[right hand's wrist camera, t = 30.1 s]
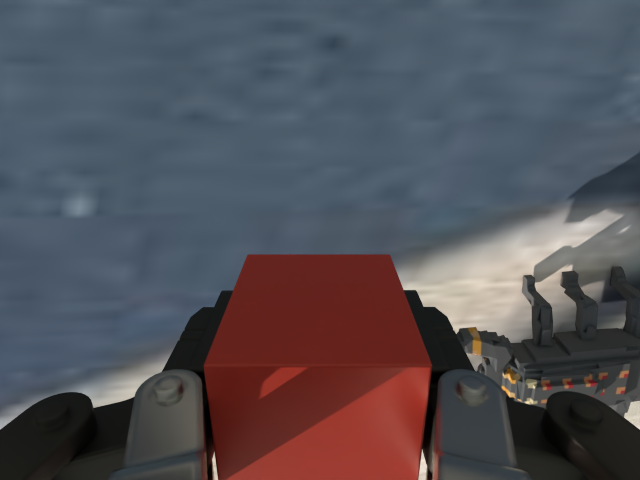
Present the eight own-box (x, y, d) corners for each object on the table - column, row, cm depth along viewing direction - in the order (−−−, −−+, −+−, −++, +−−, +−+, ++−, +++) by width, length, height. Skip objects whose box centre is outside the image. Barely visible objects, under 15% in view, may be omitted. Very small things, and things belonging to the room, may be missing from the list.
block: (255, 370, 14) (223, 522, 9) (247, 253, 12) (202, 364, 7) (382, 370, 14) (413, 522, 9) (390, 253, 12) (433, 365, 7)
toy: (701, 395, 36) (1042, 682, 19) (394, 419, 37) (456, 712, 20) (743, 255, 31) (1254, 474, 14) (387, 288, 32) (462, 528, 15)
